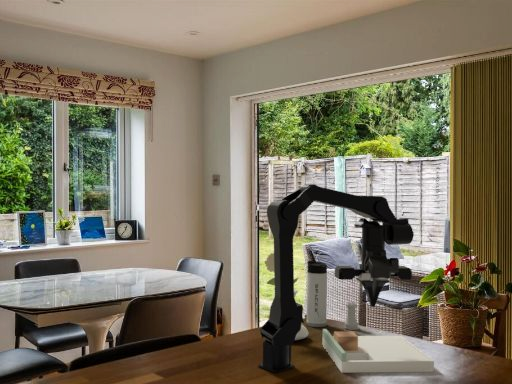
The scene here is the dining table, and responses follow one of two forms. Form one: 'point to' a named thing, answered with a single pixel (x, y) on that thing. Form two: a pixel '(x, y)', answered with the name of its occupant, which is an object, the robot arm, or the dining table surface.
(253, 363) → the dining table surface
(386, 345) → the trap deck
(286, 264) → the robot arm
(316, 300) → the travel mug
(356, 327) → the rook chess piece
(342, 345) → the block
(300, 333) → the flower in vase
